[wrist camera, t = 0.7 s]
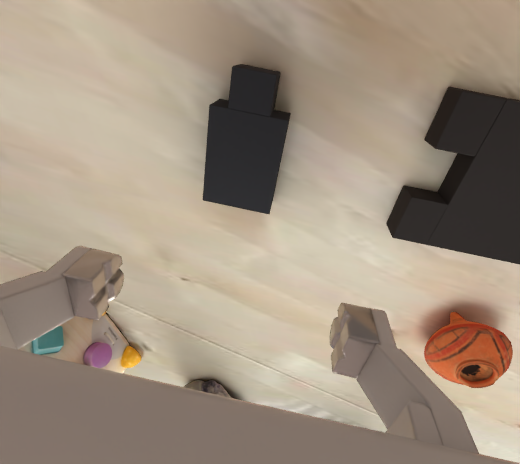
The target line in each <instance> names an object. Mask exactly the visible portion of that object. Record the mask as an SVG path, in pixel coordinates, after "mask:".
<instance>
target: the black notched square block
mask: <svg viewBox="0 0 520 464" xmlns="http://www.w3.org/2000/svg"><path fill="white" fill-rule="evenodd" d="M425 141H427V142H428V143H429V144H430V145H432V146H433V147H434V148H435V149H440V150H445V151H450V152H455V153H458V154H457V156H456V158H455V160H454V162H453V164H452V166H451V168H450V170H449V172H448V174H447V175H446V177H445V179H444V181H443V183H442V185H441V187H440V189H439V191H438V193H437V192H433V191H428V190H423V189H418V188H414V187H409V186H403V188H402V190H401V193H400V195H399V197H398V199H397V201H396V204H395V206H394V208H393V210H392V213H391V215H390V217H389V219H388V221H387V226H388V228H389V231H390V233H391V235H392V237H393V238H397V239H402V240H407V241H411V242H416V243H421V244H426V245H430V246H435V247H440V248H445V249H449V250H454V251H459V252H464V253H468V254H473V255H478V256H483V257H487V258H492V259H497V260H502V261H506V262H511V263H516V264H520V101H519V100H514V99H509V98H504V97H499V96H494V95H489V94H484V93H479V92H473V91H468V90H463V89H458V88H453V87H448V89H447V91H446V93H445V96H444V98H443V100H442V102H441V105H440V107H439V109H438V111H437V113H436V116H435V118H434V120H433V122H432V124H431V127H430V129H429V131H428V133H427V136H426V138H425Z"/></svg>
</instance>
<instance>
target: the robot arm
mask: <svg viewBox="0 0 520 464" xmlns="http://www.w3.org/2000/svg"><path fill="white" fill-rule="evenodd" d="M121 265H122V257H121V256H120V255H118V254H114V253H110V252H105V251H101V250H97V249H91V248H87V247H83V246H77V247H75V248H74V249H73V250H71V251H70V252H69V253H68V254H67V255H65V256H64V257H63V258H62V259H61V260H59V261H58V262H57V263H56V264H55V265H54V266H52V267H51V268H50V269H49V270H48V271H46V272H43V271H40V272H37V273H34V274H31V275H28V276H25V277H22V278H19V279H16V280H13V281H10V282H7V283H3V284H0V464H520V463H516V462H512V461H507V460H503V459H498V458H494V457H490V456H485V455H481V454H479V452H478V450H477V448H476V445H475V443H474V441H473V438H472V436H471V434H470V431H469V429H468V427H467V424H466V422H465V419H464V417H463V415H462V412H461V411H460V410H459V409H458V408H457V407H456V406H455V405H454V403H453V402H452V401H451V400H450V399H449V398H448V397H447V396H446V395H445V394H444V393H443V392H442V391H441V390H440V389H439V388H438V387H437V386H436V385H435V384H434V383H433V382H432V381H431V380H430V379H429V378H428V377H427V376H426V374H425V373H424V372H423V371H422V370H421V369H420V368H419V367H418V366H417V365H416V364H415V363H414V362H413V361H412V360H411V359H410V358H409V357H408V356H407V355H406V354H405V353H404V352H403V351H402V350H401V349H397V347H396V343H395V340H394V337H393V334H392V331H391V327H390V324H389V321H388V318H387V315H386V313H385V311H383V310H378V309H372V308H366V307H361V306H357V305H352V304H347V303H341V304H340V306H339V308H338V317H336V318H335V319H334V320H333V323H332V325H331V330H330V345H331V347H332V348H333V349H334V350H333V352H332V354H331V361H332V372H333V373H337V374H341V375H345V376H349V377H353V378H357V381H358V383H359V384H360V386H361V388H362V389H363V391H364V392H365V394H366V396H367V397H368V399H369V400H370V402H371V404H372V405H373V407H374V408H375V410H376V412H377V413H378V415H379V416H380V418H381V420H382V421H383V423H384V425H385V426H386V428H387V429H388V430H387V431H386V433H384V432H379V431H375V430H370V429H366V428H362V427H357V426H353V425H348V424H344V423H340V422H335V421H331V420H326V419H322V418H317V417H313V416H309V415H304V414H300V413H295V412H291V411H286V410H282V409H278V408H273V407H269V406H264V405H260V404H255V403H251V402H246V401H242V400H238V399H233V398H229V397H224V396H220V395H215V394H211V393H207V392H202V391H198V390H193V389H189V388H185V387H180V386H176V385H171V384H167V383H162V382H158V381H154V380H149V379H145V378H140V377H136V376H132V375H127V374H123V373H118V372H114V371H110V370H105V369H101V368H96V367H92V366H87V365H83V364H79V363H74V362H70V361H65V360H61V359H56V358H52V357H48V356H43V355H39V354H34V353H30V352H26V351H21V350H18V349H19V348H21V347H23V346H24V345H26V344H28V343H30V342H31V341H33V340H35V339H37V338H38V337H40V336H42V335H44V334H46V333H47V332H49V331H51V330H53V329H54V328H56V327H58V326H60V325H61V324H63V323H65V322H67V321H68V320H70V319H72V318H74V316H77V317H82V318H88V319H93V320H99V319H100V317H101V316H102V315H103V314H104V312H105V311H106V310H107V308H108V307H109V304H108V301H110V300H112V299H114V298H116V297H117V295H118V294H119V293H120V291H121V288H122V286H123V281H124V274H123V272H122V271H121V270H120V268H119V267H120V266H121Z"/></svg>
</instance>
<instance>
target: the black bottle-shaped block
mask: <svg viewBox="0 0 520 464" xmlns="http://www.w3.org/2000/svg"><path fill="white" fill-rule="evenodd" d="M279 79H280V72H278V71H273V70H268V69H263V68H258V67H253V66H248V65H243V64H240V65H236V66H233V67H232V75H231V85H230V94H229V101H227V100H222V99H219V100H217V101H215V102H214V103H212V104H210V106H209V120H208V134H207V148H206V162H205V176H204V190H203V200H204V201H209V202H214V203H218V204H223V205H228V206H233V207H237V208H242V209H247V210H252V211H256V212H261V213H266V214H270V209H271V205H272V201H273V196H274V191H275V186H276V181H277V177H278V172H279V167H280V162H281V157H282V153H283V148H284V143H285V138H286V133H287V129H288V124H289V119H290V113H286V112H281V111H276V110H274V107H275V101H276V95H277V90H278V84H279Z"/></svg>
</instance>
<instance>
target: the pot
mask: <svg viewBox="0 0 520 464" xmlns="http://www.w3.org/2000/svg"><path fill="white" fill-rule="evenodd" d="M512 353H513V350H512V345H511V342H510V341H509V339H508V338H507V336H506V335H505V334H504V333H502V332H501V331H499V330H497V329H495V328H493V327H490V326H488V325H485V324H481V323H477V322H469V321H466V320H465V319H464V318H463V317H462V316H461V315H459V314H458V313H457V312H451V314H450V324H449V325H447V326H444V327H442V328H440V329H439V330H438V331H437V332H435V333H434V334H433V335H432V336H431V337H430V339H429V340H428V342H427V344H426V346H425V351H424V356H425V360H426V362H427V364H428V365H429V366H430V367H431V368H432V370H434V371H435V372H436V373H437V374H439V375H440V376H442V377H443V378H445V379H447V380H449V381H452V382H455V383H458V384H462V385H466V386H469V387H471V388H482V387H487V386H490V385H493V384H494V383H495V381H496V380H497V379H498V378H499V377H501V376H502V375H503V374H504V373H505V372H506V371H507V369H508V368H509V366H510V363H511V359H512Z"/></svg>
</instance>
